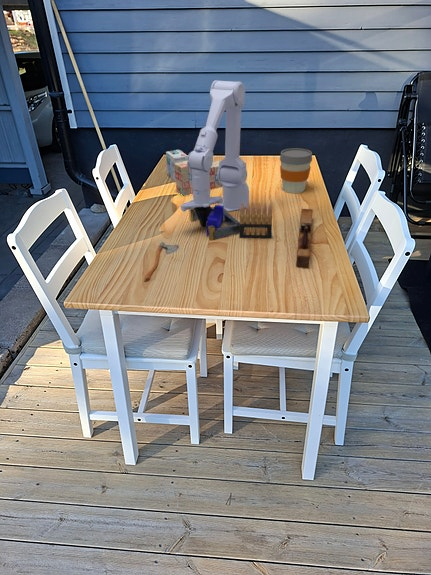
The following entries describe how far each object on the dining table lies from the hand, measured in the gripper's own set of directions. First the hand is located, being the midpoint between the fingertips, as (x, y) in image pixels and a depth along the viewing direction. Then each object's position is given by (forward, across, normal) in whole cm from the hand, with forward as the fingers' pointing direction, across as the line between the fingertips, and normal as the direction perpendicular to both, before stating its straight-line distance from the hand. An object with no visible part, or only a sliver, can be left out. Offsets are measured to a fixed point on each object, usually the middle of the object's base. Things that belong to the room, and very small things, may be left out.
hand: (203, 226), depth 147 cm
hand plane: (+2, +25, -24) cm, 35 cm away
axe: (+2, -20, -14) cm, 25 cm away
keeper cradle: (+1, +4, 0) cm, 5 cm away
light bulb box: (+1, +12, +53) cm, 54 cm away
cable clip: (+1, +3, -1) cm, 3 cm away
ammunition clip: (+1, +13, -14) cm, 19 cm away
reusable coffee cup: (+1, +48, +15) cm, 50 cm away
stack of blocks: (+1, +15, +35) cm, 38 cm away
